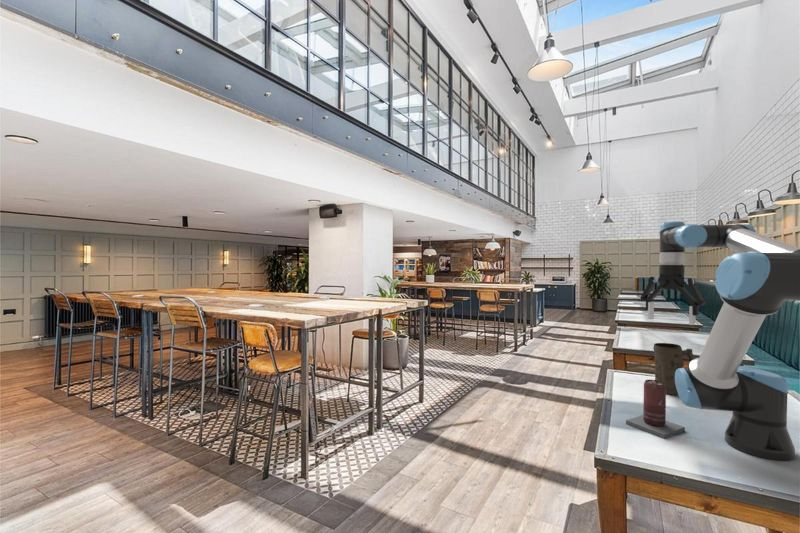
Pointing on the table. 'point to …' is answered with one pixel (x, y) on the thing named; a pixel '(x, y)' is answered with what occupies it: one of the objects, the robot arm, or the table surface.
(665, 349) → the beer stein
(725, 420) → the table surface
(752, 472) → the table surface
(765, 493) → the table surface
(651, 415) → the can
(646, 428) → the mat
